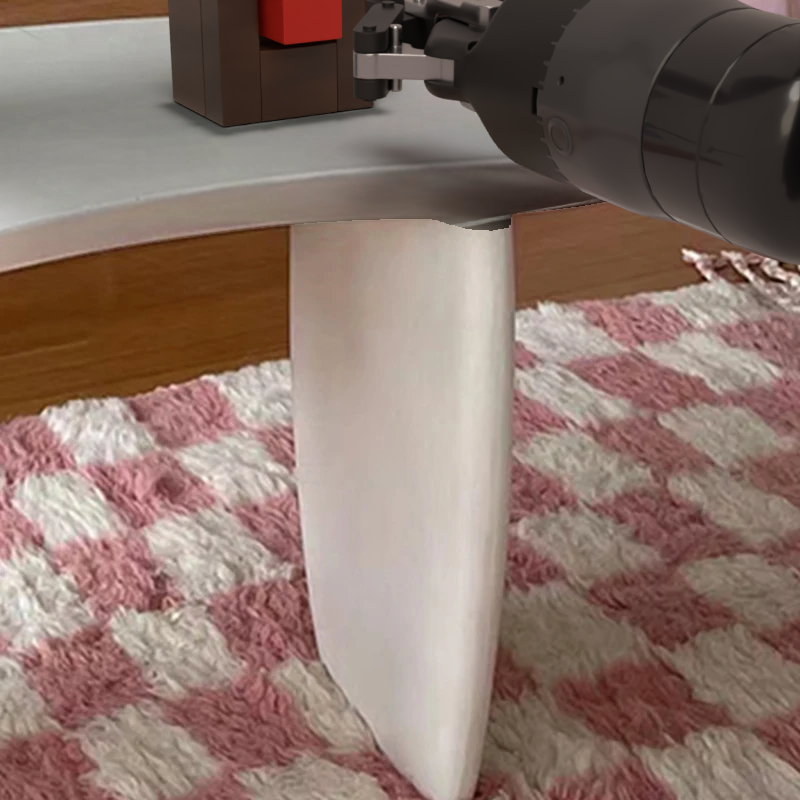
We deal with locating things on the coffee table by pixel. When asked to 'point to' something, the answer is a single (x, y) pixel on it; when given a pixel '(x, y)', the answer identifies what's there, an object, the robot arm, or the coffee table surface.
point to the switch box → (256, 65)
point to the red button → (300, 20)
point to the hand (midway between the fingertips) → (382, 10)
